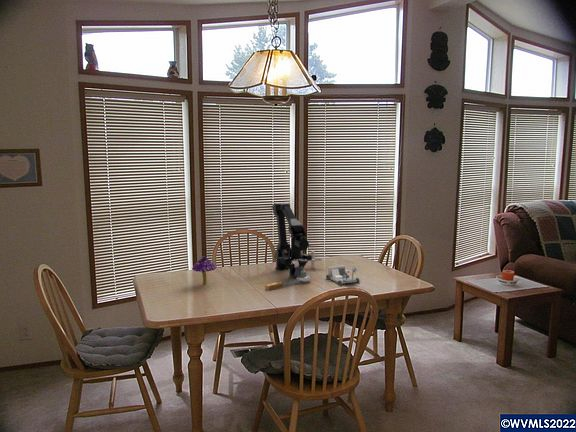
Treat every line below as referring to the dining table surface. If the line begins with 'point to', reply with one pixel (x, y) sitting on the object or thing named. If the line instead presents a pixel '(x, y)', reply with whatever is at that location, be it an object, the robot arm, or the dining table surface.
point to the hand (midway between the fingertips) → (296, 274)
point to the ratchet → (289, 282)
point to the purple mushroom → (204, 267)
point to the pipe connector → (313, 259)
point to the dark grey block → (296, 271)
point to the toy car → (341, 275)
